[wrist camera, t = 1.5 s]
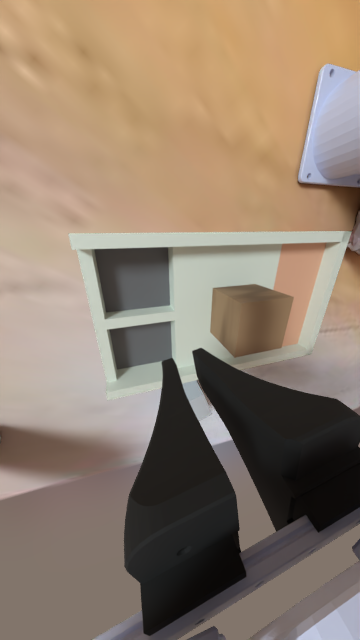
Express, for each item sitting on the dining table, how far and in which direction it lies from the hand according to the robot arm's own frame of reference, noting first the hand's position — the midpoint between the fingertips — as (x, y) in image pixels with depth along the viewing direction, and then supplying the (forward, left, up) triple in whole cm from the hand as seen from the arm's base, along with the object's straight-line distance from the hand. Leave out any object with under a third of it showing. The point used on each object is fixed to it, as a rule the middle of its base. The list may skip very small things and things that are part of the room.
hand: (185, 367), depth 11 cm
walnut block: (-8, 0, -8) cm, 11 cm away
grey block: (-3, +12, -10) cm, 16 cm away
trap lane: (-7, 0, -10) cm, 12 cm away
